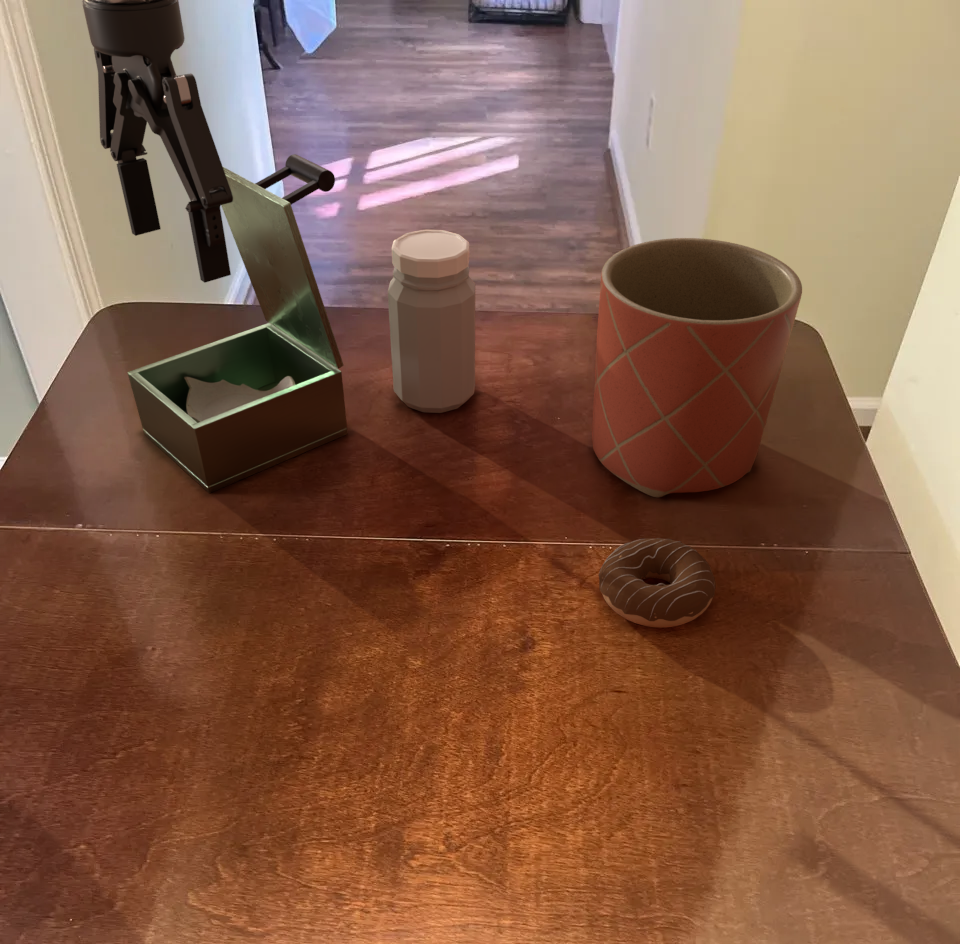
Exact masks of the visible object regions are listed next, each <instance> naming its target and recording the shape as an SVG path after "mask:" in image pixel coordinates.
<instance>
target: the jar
mask: <svg viewBox="0 0 960 944" xmlns="http://www.w3.org/2000/svg"><path fill="white" fill-rule="evenodd" d="M391 263H392V266H393V272H392V279H391V280H390V282H389V284H388V289H387V305H388V321H389V336H390V352H391V353H390V354H391V369H392V370H391V371H392V387H393V392H394V393H395V394H396V396H397V397H398V399H400V400H401V402H402V403H404V404H405V405H406V406H407V407H408V408H410V409H413V410H415V411H418V412H422V413H433V414H434V413H435V414H442V413H445V412H449V411H453V410H457V409H459V408H460V407H461V406H462V405H464V404H465V403H466V402H468V401H469V400H470V398H471V397H472V396H474V394H475V387H476V283H475V281H474V280H473V279H472V277H470V266H469V263H470V242H469V241H468V240H467V239H466V238H464V237H463V236H462V235H461V234H459V233H455V232H451V231H448V230H445V229H420V230H415V231H410V232H406V233H404V234H403V235H401V236H399V237H397V238H395V239H394V240H393V242H392V245H391Z"/></svg>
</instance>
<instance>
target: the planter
mask: <svg viewBox="0 0 960 944" xmlns="http://www.w3.org/2000/svg"><path fill="white" fill-rule="evenodd" d="M802 295H803V284H802V282H801V279H800V277H799V276H798V275H797V273H796V272H795V271H794V270H793V269H792V268H791V267H790V266H789V265H787V263H785V262H783V261H781V260H780V259H778V258H777V257H775V256H773V255H771V254H768V253H766V252H764V251H762V250H758V249H756V248H753V247H749V246H746V245H743V244H739V243H734V242H731V241H726V240H725V241H724V240H718V239H711V238H710V239H709V238H700V237H699V238H697V237H696V238H695V237H675V238H674V237H673V238H662V239H654V240H649V241H644V242H641V243H637V244H633V245H631V246H628V247H626V248H623V249H621V250H619V251H617V252H616V253H614V254H613V255H611V256H610V257H609V258H608V259H607V260H606V262H605V263H604V265H603V266H602V269H601V271H600V285H599V301H598V314H597V315H598V316H597V317H598V318H597V331H596V347H595V348H596V351H595V368H594V369H595V371H594V385H593V386H594V389H593V407H592V421H591V422H592V425H591V442H592V449H593V452H594V453H595V456H596V457H597V459H598V460H599V462H600V463H601V465H603V467H605V469H606V470H608V471H609V472H610V473H612V474H613V475H614V476H615V477H617V478H618V479H620V480H621V481H623V482H625V483H626V484H627V485H629V486H631V487H632V488H634V489H636V490H638V491H640V492H642V493H643V494H645V495H648V496H650V497H653V498H662V497H665V496H666V495H669V494H678V493H679V494H682V493H684V494H685V493H700V492H708V491H713V490H718V489H721V488H725V487H727V486H729V485H731V484H734V483H735V482H738V481H739V480H741V478H743V477H744V476H745V475H747V474H748V473H750V472H751V471H752V468H753V465H754V463H755V460H756V458H757V455H758V452H759V449H760V445H761V442H762V439H763V434H764V431H765V429H766V425H767V420H768V417H769V413H770V410H771V407H772V403H773V399H774V395H775V393H776V389H777V385H778V382H779V378H780V376H781V372H782V369H783V365H784V361H785V358H786V354H787V350H788V346H789V343H790V340H791V335H792V331H793V329H794V324H795V320H796V317H797V314H798V310H799V307H800V303H801V299H802Z"/></svg>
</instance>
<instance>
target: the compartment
mask: <svg viewBox="0 0 960 944" xmlns="http://www.w3.org/2000/svg"><path fill="white" fill-rule="evenodd" d="M127 376H128V379H129V383H130V387H131V390H132V395H133V398H134V403H135V405H136V409H137V412H138V413H137V414H138V416H139V420H140V423H141V427H142V431H143V435H144V436H145V437H147V439H148V440H149V441H151V442H152V443H153V444H154V445H156V447H157V448H158V449H160V450H161V451H162V452H163V453H164V454H165V455H166V456H167V457H168V458H170V460H172V461H173V462H174V463H175V464H176V465H177V466H179V468H181V469H182V470H183V471H184V472H185V473H186V474H187V475H188V476H189V477H190V478H191V479H193V480H194V481H195V482H196V483H197V484H198V485H199V486H201V488H202V489H204V490H205V491H206V492H207V493H208V494H211V493H214V492H216V491H218V490H221V489H223V488H225V487H227V486H230V485H232V484H234V483H236V482H239V481H242V480H244V479H246V478H248V477H251V476H253V475H255V474H258V473H261V472H262V471H264V470H267V469H269V468H272V467H274V466H276V465H279V464H281V463H283V462H286V461H288V460H290V459H293V458H295V457H297V456H300V455H302V454H305V453H307V452H309V451H311V450H314V449H317V448H319V447H320V446H323V445H326V444H328V443H330V442H332V441H334V440H335V441H336V440H337V439H339V438H342V437H344V436H347V435H348V423H347V413H346V403H345V393H344V383H343V382H344V381H343V374H342V370H340V369H338V368H336V367H335V366H333V365H332V364H330V363H329V362H327V361H326V360H324V359H323V358H321V357H320V356H318V355H317V354H315V353H314V352H312V351H311V350H309V349H308V348H306V347H305V346H303V345H302V344H300V343H299V342H297V341H296V340H294V339H293V338H291V337H290V336H288V335H287V334H285V333H284V332H282V331H281V330H279V329H278V328H277V327H275V326H274V325H272V324H271V323H269V322H267V323H265V324H262V325H259V326H256V327H253V328H250V329H248V330H244V331H242V332H239V333H236V334H233V335H230V336H226V337H224V338H221V339H218V340H216V341H213V342H209V343H207V344H204V345H201V346H199V347H196V348H193V349H189V350H187V351H184V352H181V353H179V354H178V353H177V354H175V355H172V356H170V357H166V358H164V359H161V360H158V361H155V362H153V363H149V364H146V365H144V366H141V367H138V368H135V369H132V370H130V371H127ZM287 376H290V377H292V378H293V380H294V382H295V385H294V386H292V387H289V388H287V389H284V390H281V391H279V392H276V393H274V394H271V395H269V396H266V397H263V398H261V399H258V400H256V401H253V402H250V403H248V404H245V405H243V406H240V407H238V408H235V409H232V410H230V411H227V412H225V413H222V414H220V415H217V416H214V417H212V418H209V419H207V420H204V421H202V422H199V423H197V422H196V421H195V420H193V419H192V418H191V417H190V416H189V415H188V413H187V409H186V403H187V396H188V393H189V389H190V388H189V386H188V384H187V382H186V380H185V378H184V377H191V378H194V379H197V380H200V381H203V382H208V383H216V382H220V381H221V380H225V381H227V382H229V383H231V384H234V385H237V386H240V385H242V384H245V385H247V386H249V387H250V388H252V389H255V390H258V391H268V390H271V389H273V388H274V387H276V386H277V385H278V384H279V383H280V381H281V380H283V379H284V378H285V377H287Z"/></svg>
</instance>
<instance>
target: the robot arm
mask: <svg viewBox="0 0 960 944" xmlns="http://www.w3.org/2000/svg"><path fill="white" fill-rule="evenodd" d="M81 5H82V10H83V13H84V17H85V22H86V27H87V31H88V36H89V41H90V44H91V45H92V47H93V52H94V53H93V54H94V57H95V63H96V70H97V80H98V81H97V83H98V113H99V114H98V116H99V118H98V119H99V121H98V122H99V140H100V145H101V146H102V147H103V149H105V150H107V149H109V152H110V156H111V158H112V159H113V161H114V162H117V163H116V168H117V172H118V177H119V181H120V186H121V191H122V194H123V200H124V203H125V208H126V212H127V217H128V222H129V225H130V229H131V234H132V235H134V236H135V237H136V236H140V235H144V234H148V233H151V232H155V231H160V230H161V224H160V219H159V213H158V209H157V203H156V200H155V195H154V190H153V183H152V180H151V175H150V170H149V165H148V160H147V159H145V158H144V157H142V158H138V157H141V156H146V155H148V152H146V151H147V149H146V148H145V146H144V138H145V135H146V134H145V133H146V129H147V124H148V126H149V128H150V130H151V132H152V133H153V134H155V135H157V136H159V137H160V139H161V141H162V143H163V145H164V148H165V150H166V152H167V154H168V156H169V158H170V160H171V163H172V165H173V167H174V169H175V171H176V172H177V175H178V177H179V180H180V181H181V183H182V185H183V188H184V190H185V192H186V194H187V196H188V198H189V200H190V201H188V203H187V204H186V206H185V208H184V209H185V210H186V212H187V214H188V219H189V224H190V230H191V235H192V241H193V246H194V251H195V257H196V262H197V266H198V267H197V268H198V272H199V278H200V279H199V280H200V281H202V282H203V283H205V284H206V283H209V282H212V281H215V280H218V279H223V278H225V277H228V276H231V275H232V273H231V267H230V261H229V254H228V248H227V241H226V236H225V228H224V224H223V223H224V222H223V217H222V211H221V207H222V206H221V205H223V204H227V203H231V202H233V195H232V192H231V189H230V186H229V183H228V181H227V178H226V175H225V172H224V169H223V167H224V165H223V164H222V161H221V157H220V155H219V152H218V149H217V146H216V144H215V140H214V138H213V136H212V132H211V129H210V127H209V124H208V120H207V118H206V115H205V112H204V109H203V106H202V103H201V97H200V94H199V88H198V83H197V80H196V77H195V75H194V74H193V73H186V74H180V75H177V73H176V70H175V68H174V64H173V60H172V55H173V53H174V52H175V51H176V50H179V49H180V48H182V46H183V45H184V43H185V33H184V26H183V20H182V13H181V8H180V2H179V0H82V1H81Z"/></svg>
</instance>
